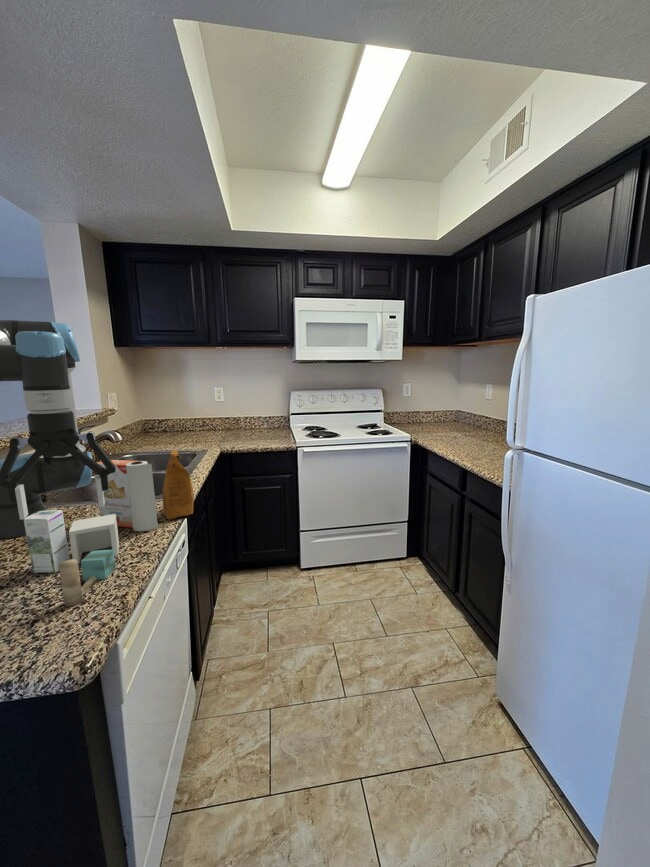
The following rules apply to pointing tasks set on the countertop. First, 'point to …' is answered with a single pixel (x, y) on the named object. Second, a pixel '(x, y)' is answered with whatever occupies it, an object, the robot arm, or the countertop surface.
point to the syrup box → (46, 540)
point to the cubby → (94, 535)
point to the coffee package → (177, 489)
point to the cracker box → (117, 495)
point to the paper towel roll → (141, 496)
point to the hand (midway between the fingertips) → (64, 511)
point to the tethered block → (84, 574)
